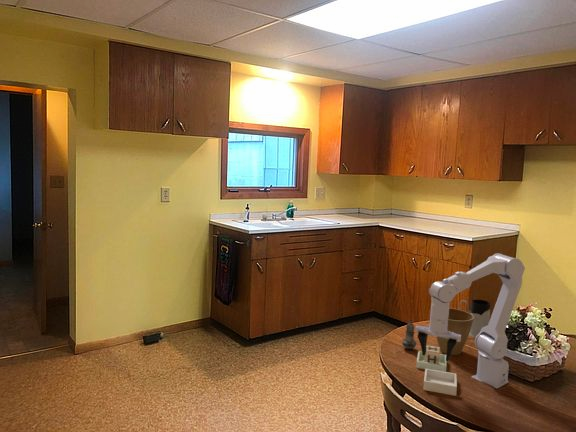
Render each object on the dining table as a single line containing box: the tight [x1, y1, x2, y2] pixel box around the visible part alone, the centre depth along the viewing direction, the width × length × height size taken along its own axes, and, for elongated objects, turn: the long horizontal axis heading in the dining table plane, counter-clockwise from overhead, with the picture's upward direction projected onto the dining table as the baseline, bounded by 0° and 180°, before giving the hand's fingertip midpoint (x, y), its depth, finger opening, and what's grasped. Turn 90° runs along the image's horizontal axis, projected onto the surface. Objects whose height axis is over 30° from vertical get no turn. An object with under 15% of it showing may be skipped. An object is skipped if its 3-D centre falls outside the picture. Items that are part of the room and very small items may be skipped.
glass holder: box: [458, 299, 491, 338], centre depth 206 cm, size 9×14×15 cm, turn 42°
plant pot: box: [436, 307, 474, 356], centre depth 183 cm, size 15×15×16 cm
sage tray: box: [415, 350, 447, 372], centre depth 171 cm, size 10×10×3 cm
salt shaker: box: [401, 320, 418, 351], centre depth 185 cm, size 6×6×12 cm
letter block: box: [424, 344, 441, 364], centre depth 171 cm, size 5×5×6 cm
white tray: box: [423, 369, 458, 397], centre depth 156 cm, size 10×10×3 cm
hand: (435, 357), depth 156 cm, fingers open, 7 cm apart
